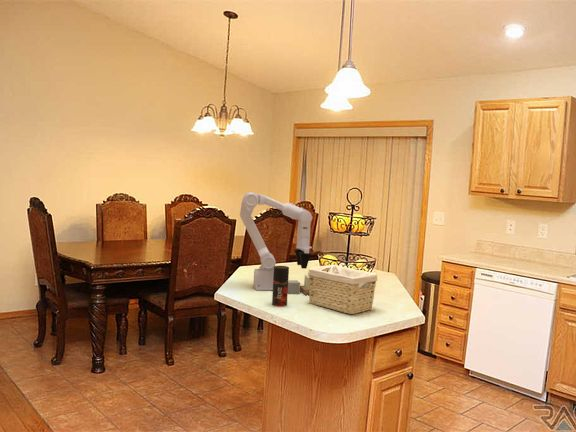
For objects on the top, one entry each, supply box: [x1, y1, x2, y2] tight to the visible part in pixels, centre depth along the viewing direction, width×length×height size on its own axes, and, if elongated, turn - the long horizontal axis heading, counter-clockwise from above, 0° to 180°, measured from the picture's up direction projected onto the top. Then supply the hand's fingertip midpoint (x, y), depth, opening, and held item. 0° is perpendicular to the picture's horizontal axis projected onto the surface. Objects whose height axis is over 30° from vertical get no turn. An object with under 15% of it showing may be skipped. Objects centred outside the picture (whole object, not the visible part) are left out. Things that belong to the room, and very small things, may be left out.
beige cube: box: [303, 274, 309, 289], centre depth 213 cm, size 5×5×5 cm
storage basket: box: [307, 263, 378, 315], centre depth 194 cm, size 24×16×15 cm
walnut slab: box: [300, 285, 313, 297], centre depth 214 cm, size 8×8×3 cm
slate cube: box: [288, 279, 301, 295], centre depth 213 cm, size 5×5×5 cm
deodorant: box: [271, 265, 290, 308], centre depth 192 cm, size 6×6×15 cm
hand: (301, 266), depth 220 cm, fingers open, 7 cm apart
